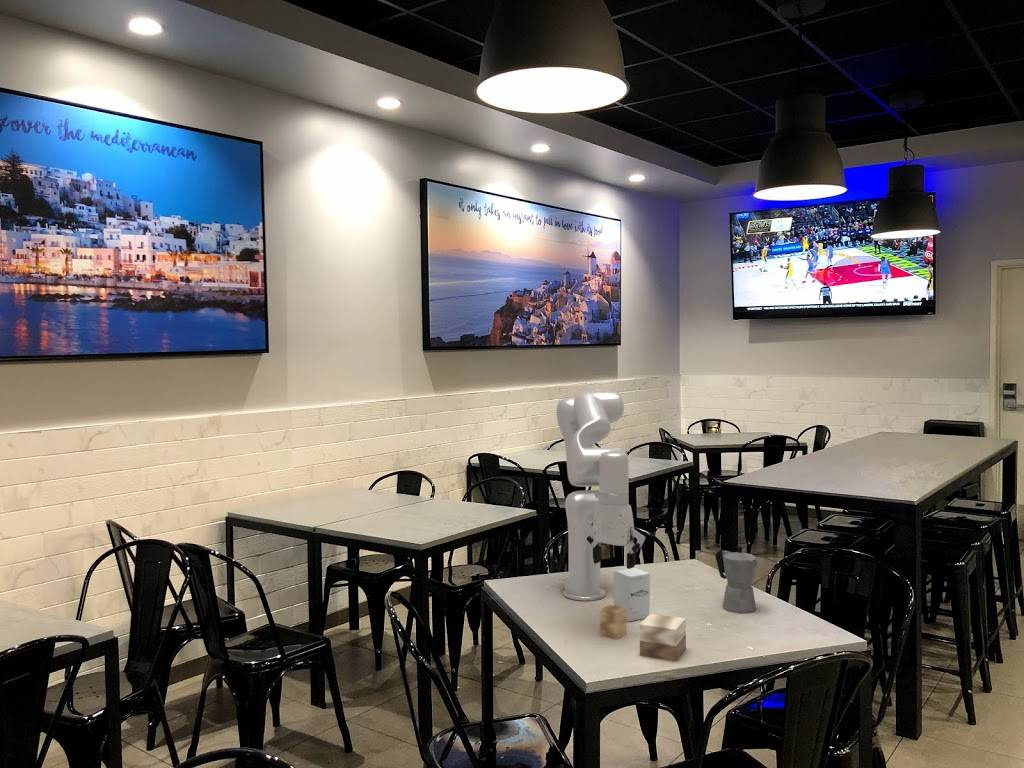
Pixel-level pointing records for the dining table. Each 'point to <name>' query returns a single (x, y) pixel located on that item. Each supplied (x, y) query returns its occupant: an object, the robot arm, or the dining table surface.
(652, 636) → the maple slab
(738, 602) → the coffeepot
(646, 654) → the walnut slab
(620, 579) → the supplement box
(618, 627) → the oak block
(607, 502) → the robot arm
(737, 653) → the dining table surface
